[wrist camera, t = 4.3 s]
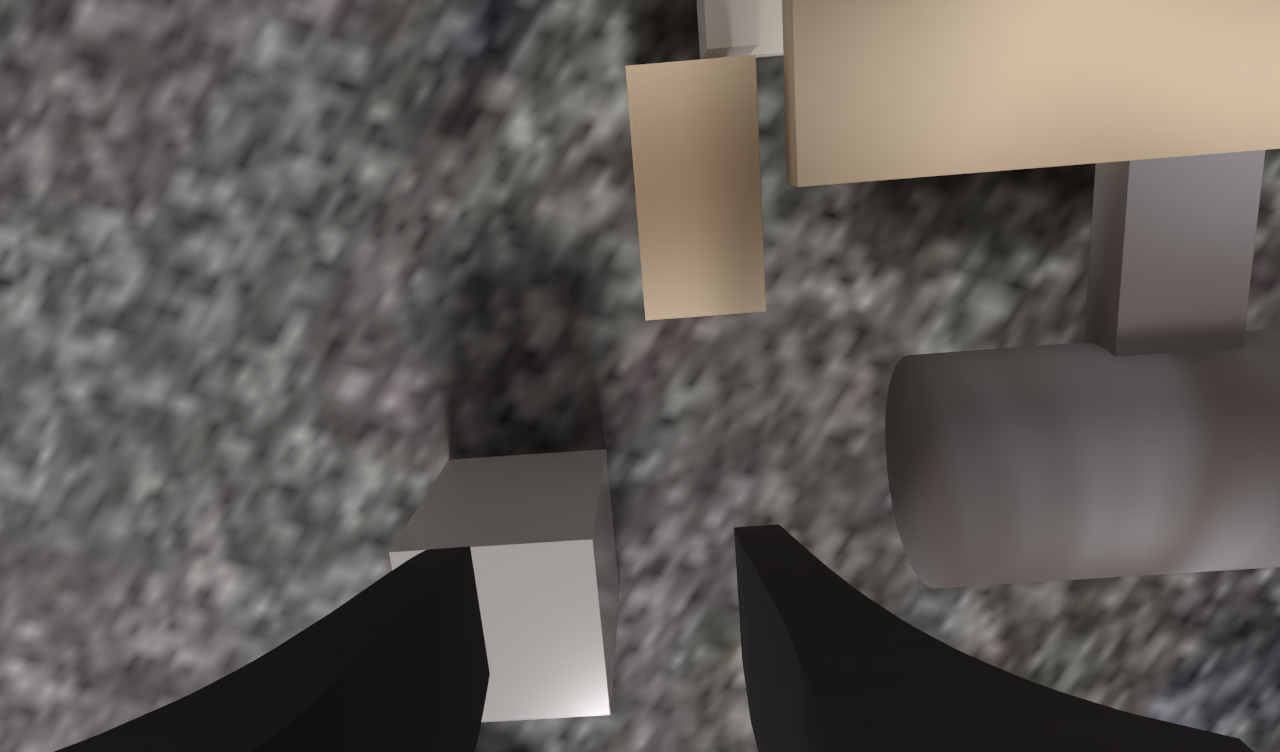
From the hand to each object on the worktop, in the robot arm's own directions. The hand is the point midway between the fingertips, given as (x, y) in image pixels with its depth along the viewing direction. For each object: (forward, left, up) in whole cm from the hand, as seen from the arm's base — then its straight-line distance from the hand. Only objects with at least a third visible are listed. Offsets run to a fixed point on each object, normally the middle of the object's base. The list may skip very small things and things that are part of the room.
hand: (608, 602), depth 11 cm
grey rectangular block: (+3, +3, -9) cm, 10 cm away
